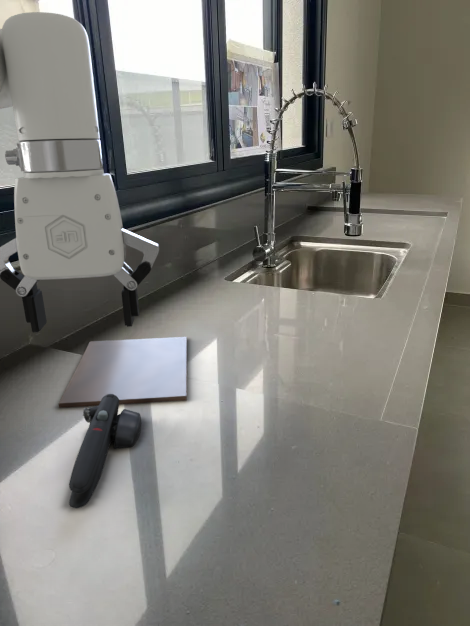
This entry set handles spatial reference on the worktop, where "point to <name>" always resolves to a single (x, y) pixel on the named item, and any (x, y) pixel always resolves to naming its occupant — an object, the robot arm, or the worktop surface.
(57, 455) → the worktop surface
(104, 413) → the can opener
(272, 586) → the worktop surface
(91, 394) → the cutting board
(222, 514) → the worktop surface
